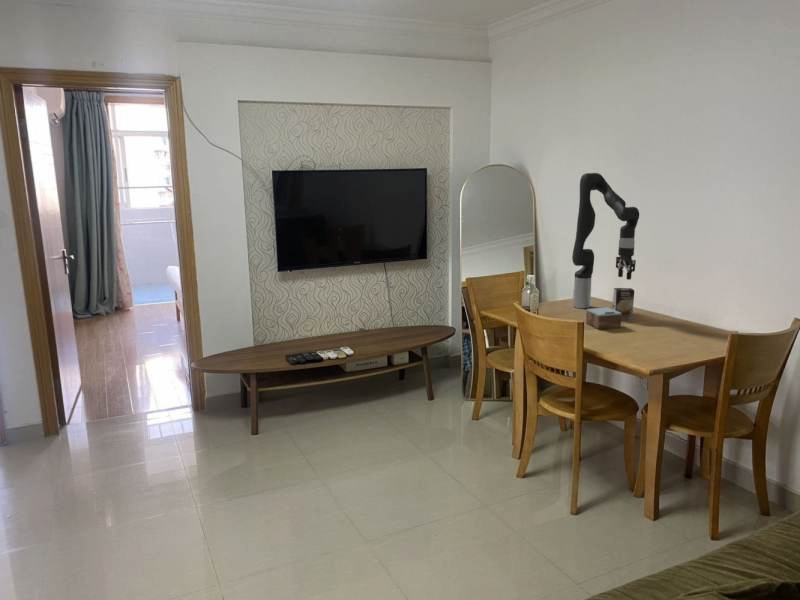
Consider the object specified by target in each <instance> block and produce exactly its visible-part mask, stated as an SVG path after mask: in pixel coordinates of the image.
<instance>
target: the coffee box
mask: <svg viewBox="0 0 800 600" xmlns="http://www.w3.org/2000/svg"><path fill="white" fill-rule="evenodd" d="M612 294H613V297H612V308H611V309H613V310H615V311H618V312H620V313H621V321H633V315H634V303H635V302H634V301H635V298H634V297H635V289H633V288H630V287H629V288H628V287H614V288H613V293H612Z"/></svg>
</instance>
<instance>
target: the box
mask: <svg viewBox="0 0 800 600" xmlns="http://www.w3.org/2000/svg"><path fill="white" fill-rule="evenodd" d="M585 325H587V326H589V325H590V327H591V326H592V327H591V328H593V327H594V329H596V330H598V331H600V330H604V331H605V330H614V329H621V327H622V320H621V315H608V316H598V315H595V314H593V313H591V312H589V311H587V310H586V318H585Z"/></svg>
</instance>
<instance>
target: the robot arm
mask: <svg viewBox="0 0 800 600" xmlns="http://www.w3.org/2000/svg"><path fill="white" fill-rule="evenodd" d="M592 191H598V192H599V193H601V194H602V195H603V199H604V202H605V204H606V205H607V206H608V207H609V208H610V209H611V210H613V212H614V214H615V216H616V217H617V219H618V220H620V221H621V222H626V223H625V225H622V226H621V227H620V229H619V240H618V252H617V254H618V256H616V257H615V268H616V269H617V270H618V273H617V276H618V278H622V277H624V268H625V269H626V280H627V281H629V280H632V273H633V272H636V271H635V270H636V259H632V257H633V256H635V245H636V244H635V242H636V241H635V236H636V235H635V234H636V228H637V225H638V223H639V219H640V210H639V209H638V208H637V206H626V205H627V203H626V201H625V200H624V199H623V198H622V197H621V196H620V195H618V194H617V192H615V191H614V190H613V188H612V187H611V186H610V184H609V183H608V182H607V181H606V179H605V178H604V176H602V174H600V173H598V172H588V173H587V172H586V173H584V174H582V175H581V177H580V181H579V205H578V214H577V222H576V234H575V241H574V245H573V250H572V256H571V257H572V258H571V259H572V263H573V265H574V266H575V267H576V266H577V267H581V266H582V267H581V268H580V269H579V270H576V271H575V272H574V284H573V294H572V295H573V296H572V297H573V298H572V299H573V301H572V306H573V307H574V308H576V309H591V308H590V307H591V296H592V295H591V294H592V278H593V277H592V276H593V272H594V266H595V265H594V264H595V253H594V251H593V249H591V248H584V246H585V243H586V241H587V239H588V237H589V236H590V234H591V233H592V231H594V228H595V222H596V212H595V209H594V207H593V204H592V202H591V193H592Z"/></svg>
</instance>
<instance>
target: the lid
mask: <svg viewBox="0 0 800 600" xmlns="http://www.w3.org/2000/svg"><path fill="white" fill-rule="evenodd" d="M587 311H589V312H591V313H593V314H595V315H598V316H608V315H621V313H620V312H618V311H615V310H613V309H612V308H610V307H599V308H595V307H594V308H586V312H587Z"/></svg>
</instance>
